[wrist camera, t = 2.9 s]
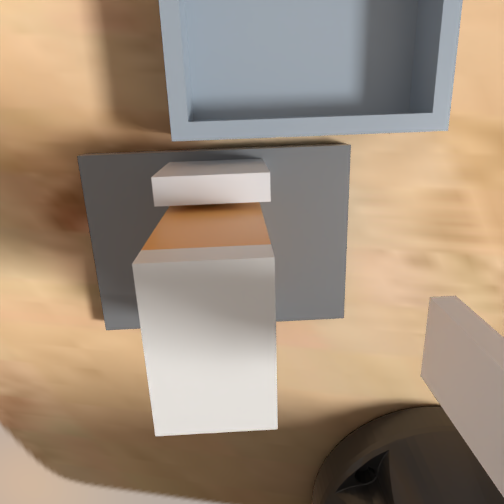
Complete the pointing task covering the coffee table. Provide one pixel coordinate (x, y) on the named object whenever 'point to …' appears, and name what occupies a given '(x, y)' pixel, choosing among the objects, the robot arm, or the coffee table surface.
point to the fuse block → (221, 192)
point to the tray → (308, 66)
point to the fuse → (209, 320)
